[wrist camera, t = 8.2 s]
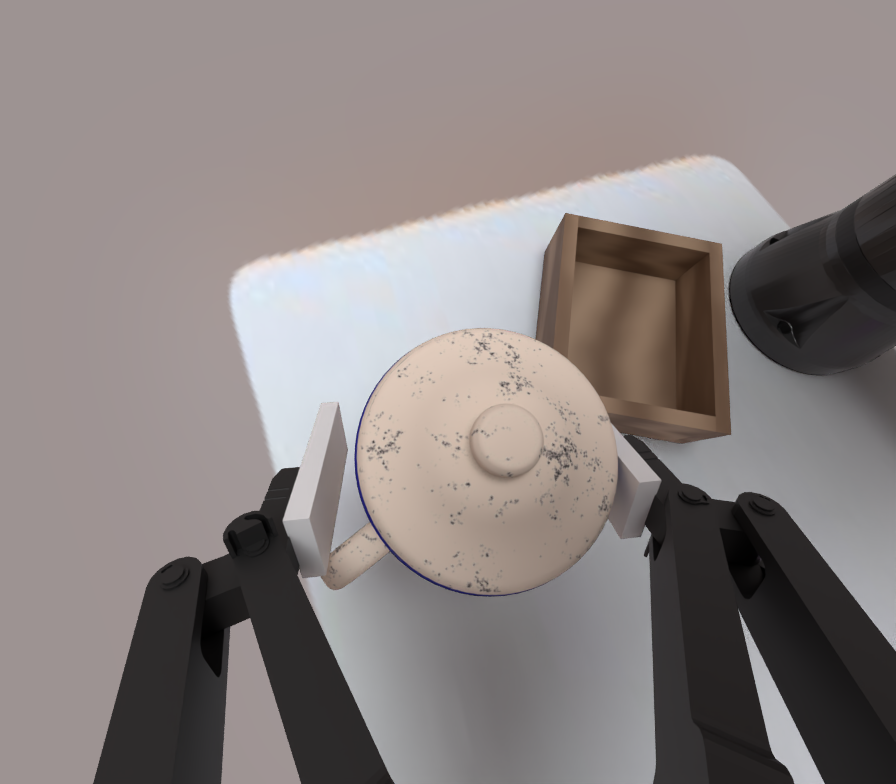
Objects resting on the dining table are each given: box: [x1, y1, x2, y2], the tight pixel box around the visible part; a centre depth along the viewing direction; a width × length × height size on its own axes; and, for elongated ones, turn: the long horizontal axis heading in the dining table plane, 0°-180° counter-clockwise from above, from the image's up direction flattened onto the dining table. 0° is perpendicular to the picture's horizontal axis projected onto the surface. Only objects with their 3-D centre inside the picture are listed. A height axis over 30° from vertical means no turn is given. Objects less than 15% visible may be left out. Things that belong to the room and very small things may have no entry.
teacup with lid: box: [321, 328, 618, 597], centre depth 15 cm, size 12×9×12 cm
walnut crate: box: [536, 213, 731, 443], centre depth 33 cm, size 14×17×6 cm
